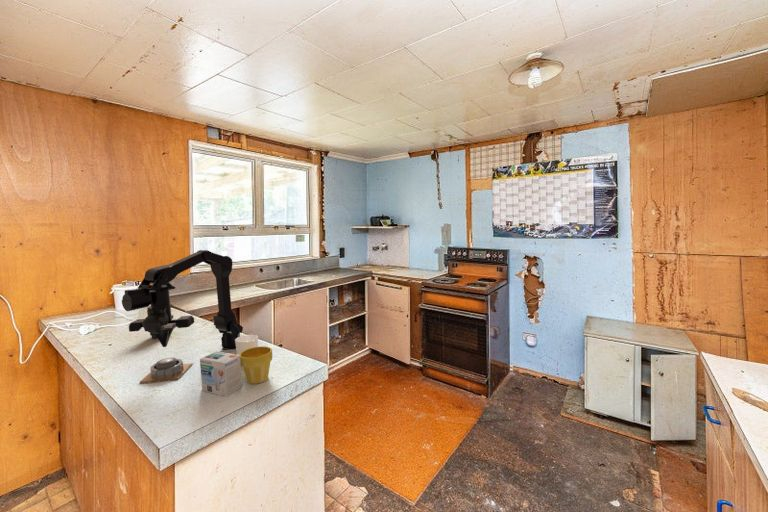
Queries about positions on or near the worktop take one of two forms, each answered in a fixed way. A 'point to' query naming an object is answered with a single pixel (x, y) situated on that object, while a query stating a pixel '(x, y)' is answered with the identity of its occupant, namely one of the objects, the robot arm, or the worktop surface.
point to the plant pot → (256, 363)
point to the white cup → (246, 342)
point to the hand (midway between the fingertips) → (164, 346)
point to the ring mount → (166, 372)
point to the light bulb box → (221, 373)
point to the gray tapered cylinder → (166, 363)
